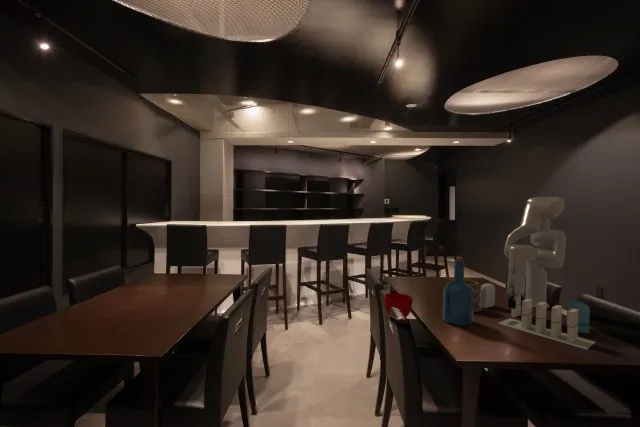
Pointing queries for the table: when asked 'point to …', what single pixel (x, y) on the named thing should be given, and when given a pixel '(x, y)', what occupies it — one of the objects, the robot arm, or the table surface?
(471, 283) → the tankard
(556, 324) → the domino
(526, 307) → the domino
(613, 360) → the table surface
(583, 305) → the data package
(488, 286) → the photo printer
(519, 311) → the domino
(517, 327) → the domino mat
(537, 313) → the domino
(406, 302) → the ceramic cup
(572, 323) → the domino
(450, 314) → the wine bottle
